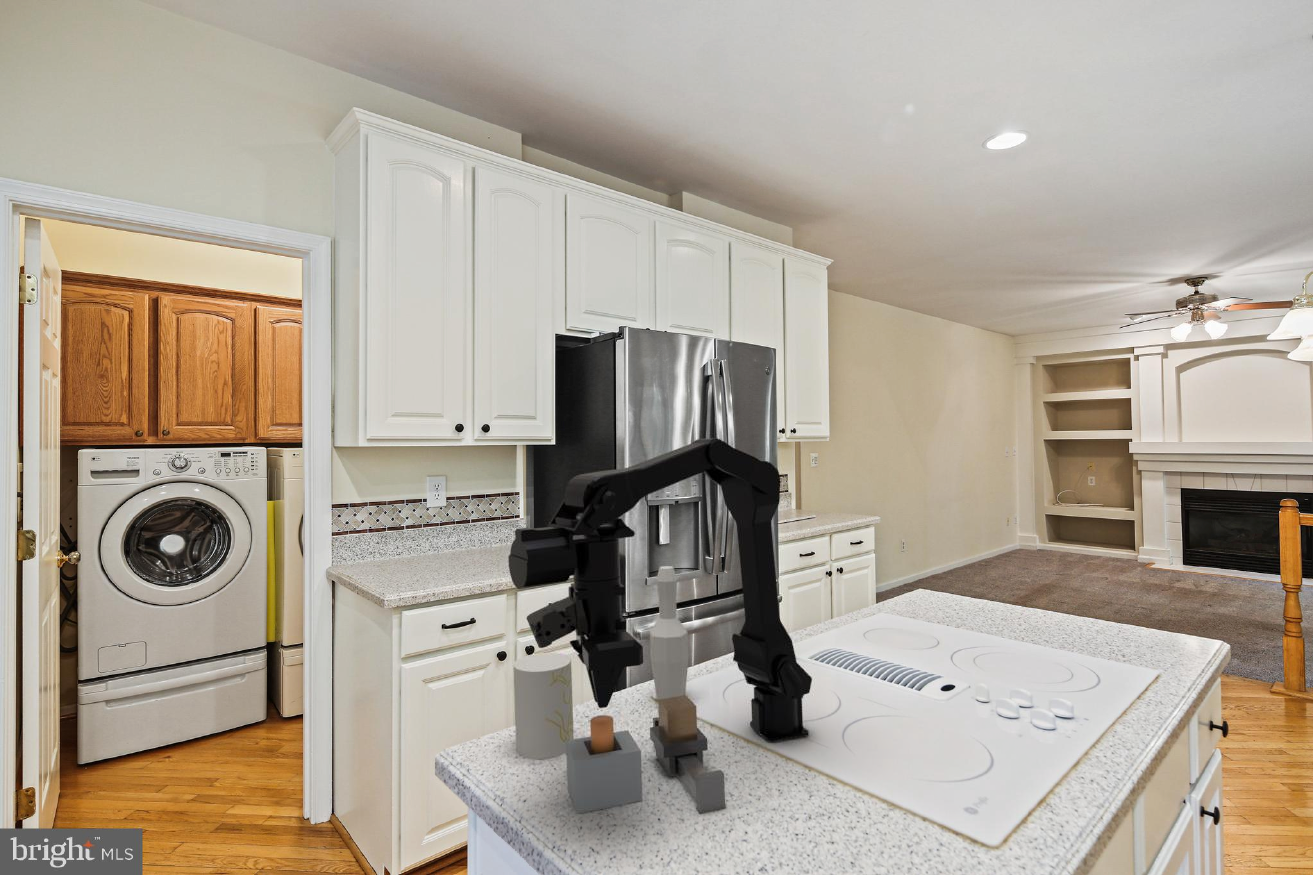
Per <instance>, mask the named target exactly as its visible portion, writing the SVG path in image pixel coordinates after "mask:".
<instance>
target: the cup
mask: <svg viewBox="0 0 1313 875" xmlns="http://www.w3.org/2000/svg"><path fill="white" fill-rule="evenodd" d="M572 674H573V673H572V658H571V657H570V656H569V655H567V654H563V653H558V652H541V653H534V654H529V655H526V656H523V657H520V658H518V659H516V660H515V661H514V663H513V690H514V691H513V692H514V717H515V718H514V719H515V720H514V721H515V751H516V753H517V754H518V755H519V756H520V757H523V758H525V759H529V760H548V759H553V758H554V759H555V758H558V757H560V756H562V755H565V754H566V741H567V740H573V739H575V738H574V737H575V734H574V709H573V707H574V706H573V678H572V677H573V676H572Z"/></svg>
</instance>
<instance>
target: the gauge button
mask: <svg viewBox="0 0 1313 875" xmlns="http://www.w3.org/2000/svg"><path fill="white" fill-rule="evenodd" d="M589 722H590V724H589V725H590V736H591V752H592V753H594V754H601V753H607V752H612V751H614V732H615V731H614V730H615V729H614V717H612V716H610V715H605V714H604V715H601V714H600V715H596V716H593V717H592V718H591V719H590V721H589Z"/></svg>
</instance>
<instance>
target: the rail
mask: <svg viewBox="0 0 1313 875" xmlns="http://www.w3.org/2000/svg"><path fill="white" fill-rule="evenodd" d="M656 726H659V716H657V717H652V727H656ZM653 748H654V749H655V745H654V744H653ZM675 771H676V775H675V776H676V777H677V778H678V779H679V781H680V782H681V784H682V785H683V786H684V789H686V791H687V792H688V794H689V795H690V797H691V798H692V800H693V801H694V803H695V804H696V811H697V812H698V813H699V814H705V813H709V812H714V811H719V810H723V809H726V791H725V789H726V788H725V786H726V784H725V772H724V771H722V769H718V770H712V771H708V769H707V768H706V767H705V766H704V763H703V764H702V763H701V762H700V761H699V759H698V758H697V757H696V756H695V754H694V753H690V754H684V755H679V756H675Z"/></svg>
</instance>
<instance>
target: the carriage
mask: <svg viewBox="0 0 1313 875" xmlns="http://www.w3.org/2000/svg"><path fill="white" fill-rule="evenodd" d="M657 709H658V710H657V711H658V714H657V715H658V717H659V726H656V727H653V726H651V727H649V739H650V740H651V742H652V743H653V746H654V745H655V748H654V750H655V757H656V758H657V759H658V761H659V763H660V764H661V766H662V767H663V769H664V770H665V772H666V773H667V774H668V776H669V777H673V776H677V775H676V771H675V756H679V755H684V754H690V753H694V754H695V756H696V757H697V758H698V759H699V761H700V762H701V763H702V764H703V765H704V752H705V751H709V748H708V744H709V743H708V738H707V736H706V735H705V734H704V733H703V732H702V731H701V730H700V728H699V727H698V717H697V715H698V714H697V705H696V704H695V703H694V702H693V701H692V700H691V699H690V697H688V695H686V694H685V695H684V696H677V697H671V698H665V699H658V701H657Z"/></svg>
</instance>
